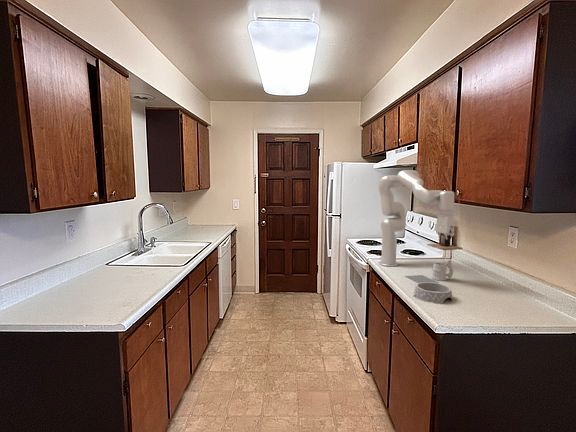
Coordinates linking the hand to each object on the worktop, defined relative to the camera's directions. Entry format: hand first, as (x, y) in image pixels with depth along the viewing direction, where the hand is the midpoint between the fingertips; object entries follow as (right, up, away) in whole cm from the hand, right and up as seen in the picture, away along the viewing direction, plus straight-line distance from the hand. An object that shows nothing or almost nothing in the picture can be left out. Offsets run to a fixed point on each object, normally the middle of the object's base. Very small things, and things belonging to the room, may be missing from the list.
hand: (444, 244), depth 194 cm
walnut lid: (0, -1, 0) cm, 1 cm away
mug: (0, -21, +3) cm, 21 cm away
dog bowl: (-17, -24, -24) cm, 38 cm away
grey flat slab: (-13, -21, +1) cm, 24 cm away
